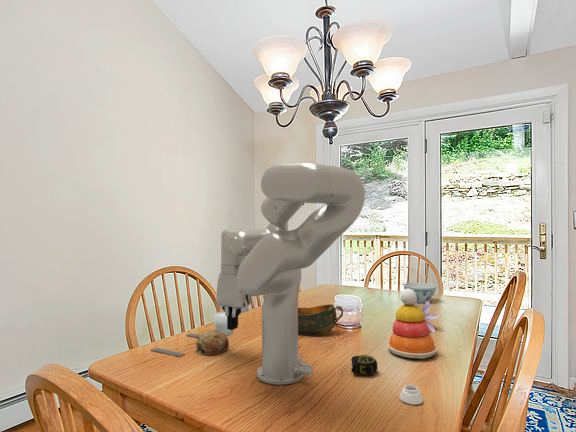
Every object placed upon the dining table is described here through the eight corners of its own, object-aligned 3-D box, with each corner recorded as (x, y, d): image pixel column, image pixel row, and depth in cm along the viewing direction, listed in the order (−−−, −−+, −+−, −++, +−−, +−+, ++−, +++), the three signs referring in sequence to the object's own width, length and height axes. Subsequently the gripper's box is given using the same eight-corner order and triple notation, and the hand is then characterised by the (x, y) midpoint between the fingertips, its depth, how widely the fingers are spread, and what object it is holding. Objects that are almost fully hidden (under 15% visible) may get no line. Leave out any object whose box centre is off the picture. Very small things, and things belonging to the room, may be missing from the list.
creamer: (324, 343, 120) (324, 312, 120) (279, 331, 133) (279, 304, 133) (345, 333, 129) (345, 305, 130) (301, 323, 142) (301, 297, 142)
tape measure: (351, 366, 101) (351, 353, 101) (376, 368, 100) (376, 354, 100) (351, 377, 94) (351, 363, 94) (378, 379, 93) (378, 364, 93)
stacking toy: (440, 349, 113) (439, 286, 114) (432, 365, 101) (432, 295, 101) (394, 341, 121) (393, 283, 121) (381, 356, 108) (381, 290, 108)
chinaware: (397, 299, 183) (397, 283, 183) (422, 296, 187) (422, 281, 187) (416, 305, 169) (416, 289, 169) (443, 303, 173) (443, 287, 173)
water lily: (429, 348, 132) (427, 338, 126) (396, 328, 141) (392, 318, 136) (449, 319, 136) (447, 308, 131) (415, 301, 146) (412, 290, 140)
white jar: (395, 399, 83) (414, 408, 79) (395, 386, 83) (414, 395, 79) (408, 393, 86) (427, 401, 82) (408, 380, 86) (427, 388, 82)
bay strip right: (217, 338, 125) (217, 338, 125) (213, 340, 123) (213, 339, 123) (190, 334, 131) (190, 333, 131) (186, 335, 129) (186, 335, 129)
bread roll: (193, 362, 115) (185, 342, 112) (212, 339, 123) (205, 320, 120) (219, 368, 110) (211, 347, 107) (237, 343, 118) (230, 324, 115)
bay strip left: (184, 354, 111) (184, 353, 111) (180, 357, 109) (180, 356, 109) (156, 348, 116) (155, 347, 116) (151, 350, 114) (151, 349, 114)
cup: (234, 331, 133) (234, 312, 133) (224, 336, 127) (224, 316, 127) (221, 329, 135) (221, 311, 136) (211, 334, 130) (210, 314, 130)
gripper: (260, 269, 111) (259, 329, 112) (221, 265, 118) (220, 321, 119) (247, 273, 105) (246, 336, 105) (206, 268, 111) (205, 328, 112)
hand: (232, 328), depth 112 cm, fingers closed
